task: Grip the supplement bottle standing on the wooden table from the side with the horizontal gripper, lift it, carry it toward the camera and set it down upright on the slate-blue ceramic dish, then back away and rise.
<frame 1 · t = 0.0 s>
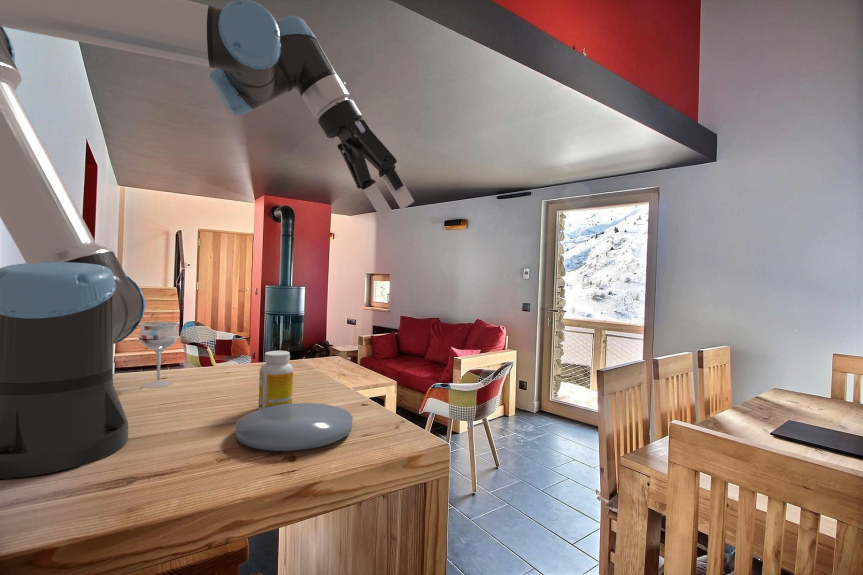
hand: (396, 210, 83), 36 cm above the counter, tool tilted 35°, fingers open, 13 cm apart
supplement bottle: (275, 409, 73), on the counter
wineglass: (158, 385, 85), on the counter
slate dish: (295, 433, 62), on the counter
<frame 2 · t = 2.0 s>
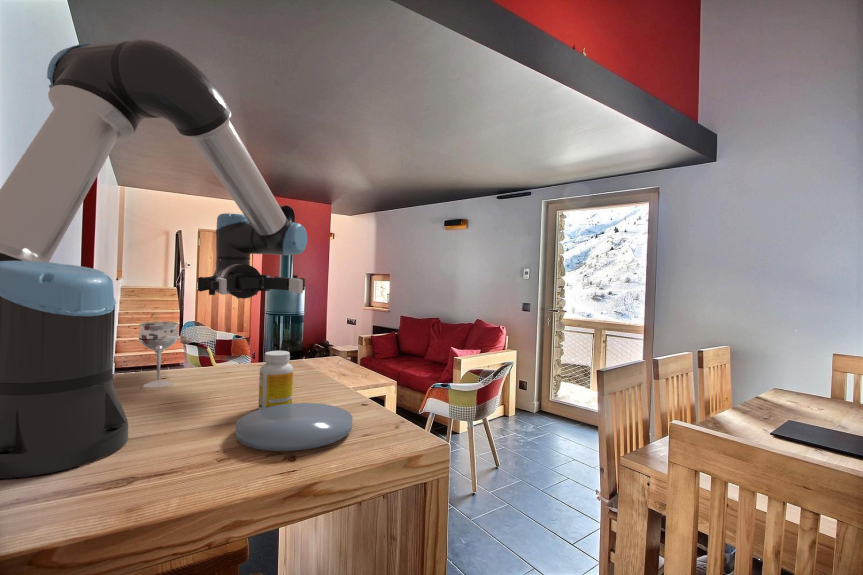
hand: (264, 286, 80), 20 cm above the counter, tool horizontal, fingers open, 13 cm apart
nothing on the counter moved.
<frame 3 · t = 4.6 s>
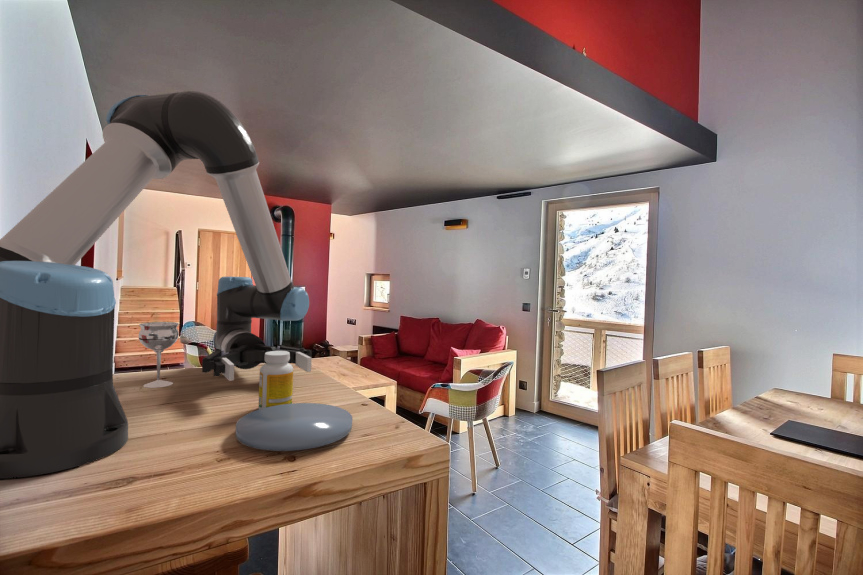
hand: (272, 368, 77), 6 cm above the counter, tool horizontal, fingers open, 13 cm apart
nothing on the counter moved.
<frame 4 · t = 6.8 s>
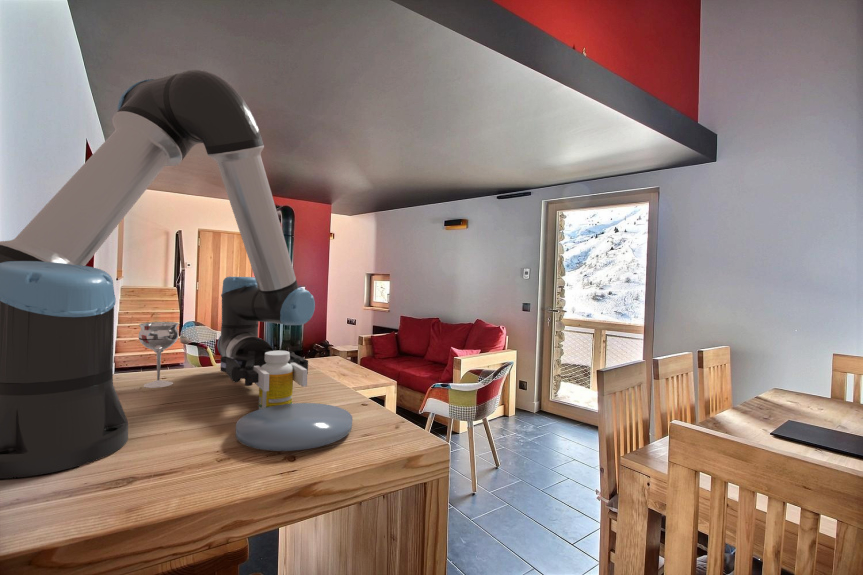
hand: (286, 380, 68), 6 cm above the counter, tool horizontal, fingers closed on supplement bottle, 5 cm apart
supplement bottle: (275, 409, 73), on the counter, touching gripper
everything else where it was.
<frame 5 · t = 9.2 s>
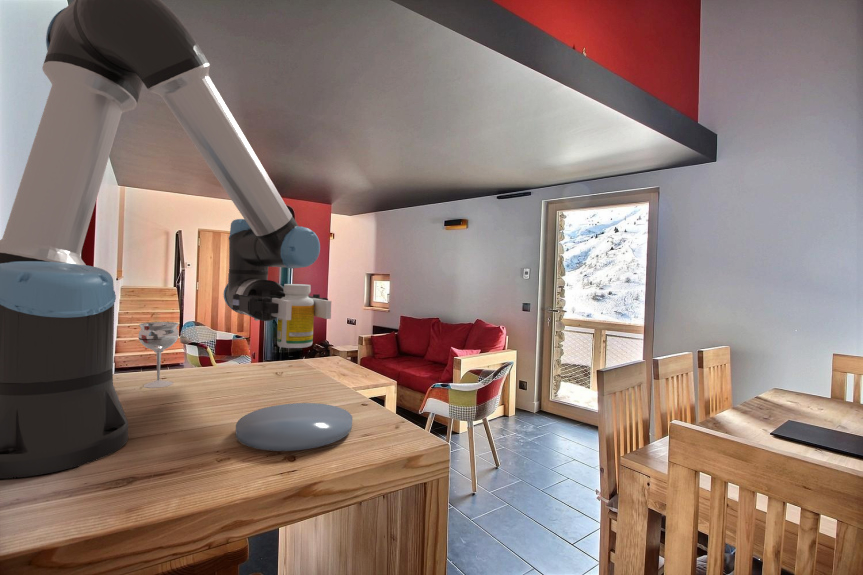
hand: (309, 310, 63), 18 cm above the counter, tool horizontal, fingers closed on supplement bottle, 5 cm apart
supplement bottle: (295, 346, 67), point 12 cm above the counter, touching gripper
everything else where it was.
when the fingers open (10 cm above the counter, at t = 11.5 s): supplement bottle drops 1 cm, resting on slate dish.
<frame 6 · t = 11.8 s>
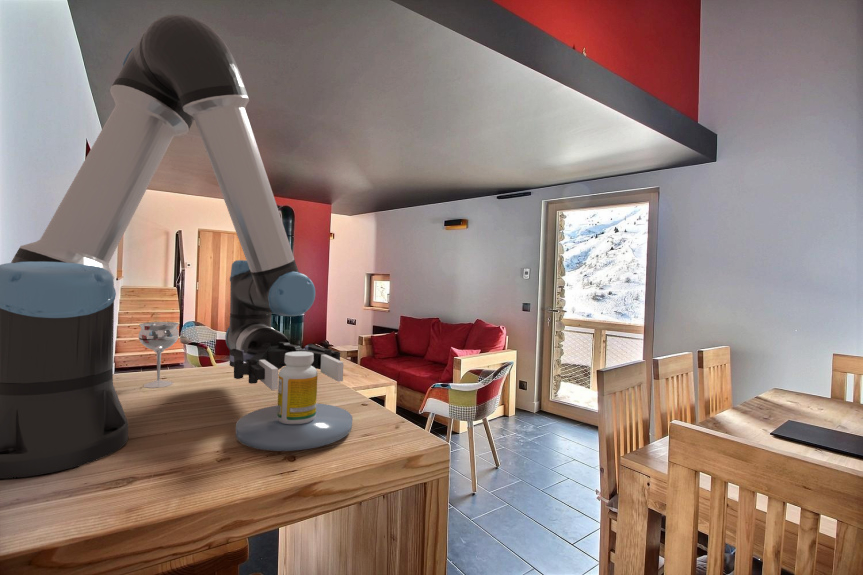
hand: (309, 375, 58), 9 cm above the counter, tool horizontal, fingers open, 8 cm apart
supplement bottle: (296, 420, 62), point 2 cm above the counter, touching slate dish
everything else where it was.
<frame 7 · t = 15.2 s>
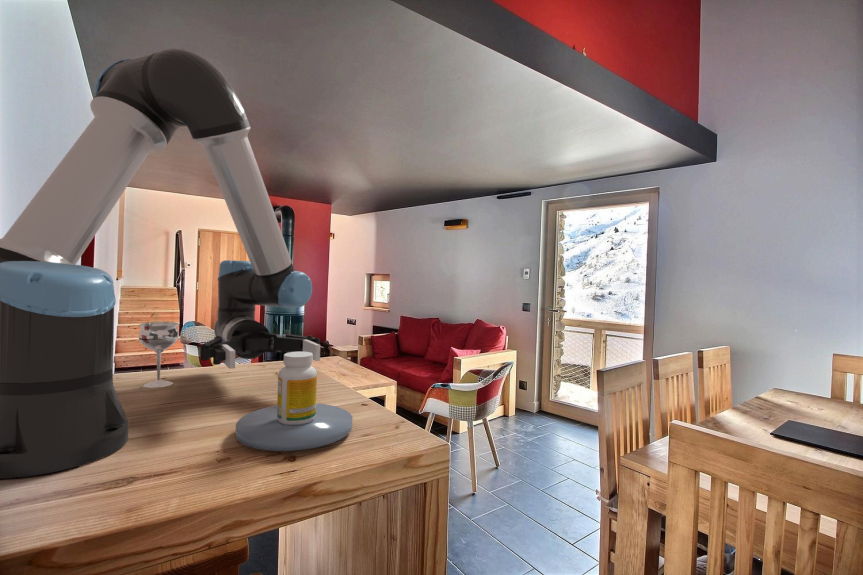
hand: (277, 356, 70), 10 cm above the counter, tool horizontal, fingers open, 13 cm apart
nothing on the counter moved.
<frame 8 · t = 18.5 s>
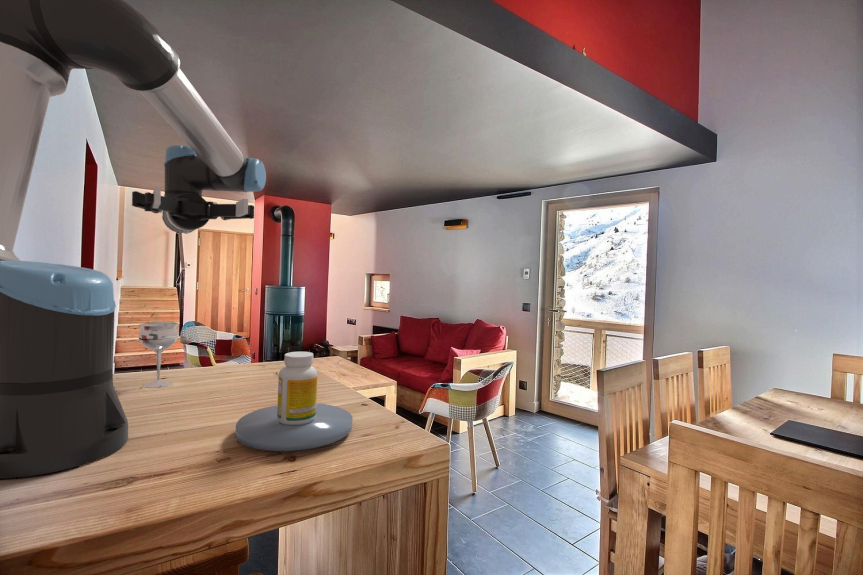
hand: (204, 201, 74), 35 cm above the counter, tool horizontal, fingers open, 13 cm apart
nothing on the counter moved.
at the end: supplement bottle inside the target area on the slate dish (0.1 cm from its centre), point 1.8 cm above the slate dish's base; supplement bottle tilted 0°; the gripper is holding nothing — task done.
